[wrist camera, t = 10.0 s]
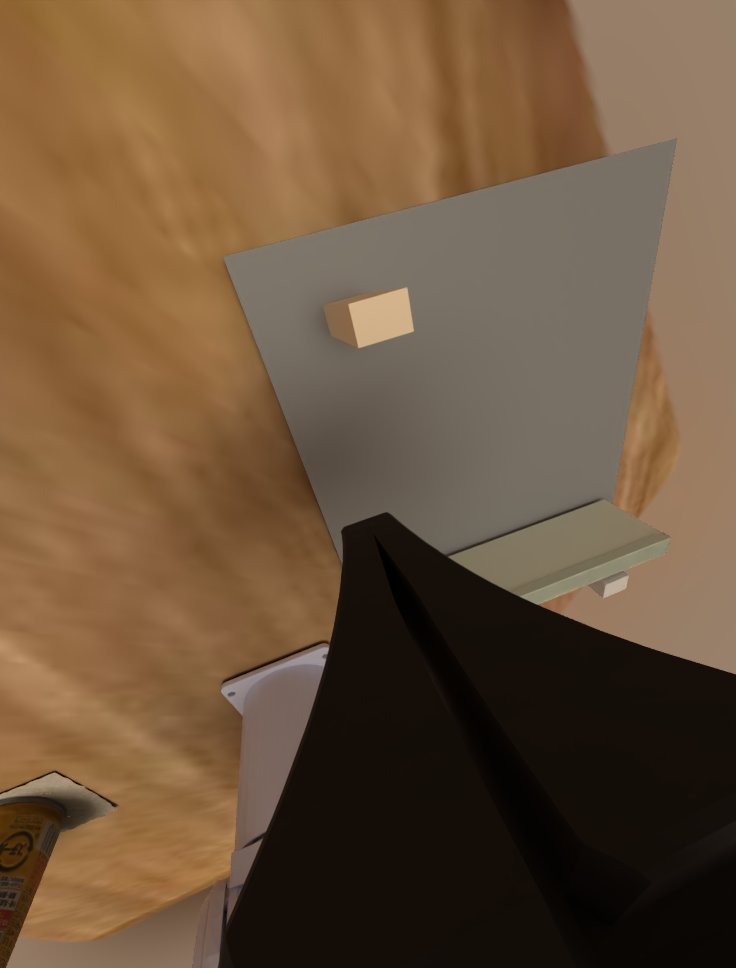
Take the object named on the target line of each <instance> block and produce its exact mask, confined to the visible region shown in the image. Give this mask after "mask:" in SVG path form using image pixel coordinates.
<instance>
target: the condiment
mask: <svg viewBox="0 0 736 968" xmlns="http://www.w3.org/2000/svg"><path fill="white" fill-rule="evenodd" d="M39 793H43V794H42V795H39ZM45 793H51V794H45ZM116 810H117V809H116V808H115V807H113V806H111V804H110V803H108V802H107V801H106V800H104V799H102V798H100V797H99V796H98V795H97V794H95V793H93V792H91V791H89V790H87V789H86V788H85V786H80V785H78V784H75V783H73V782H72V781H71V780H70V779H68V778H64V777H62V776H60V775H58V774H57V773H55V772H54V773H52V774H49V775H47V776H45V777H43V778H41V779H37V780H34V781H32V782H29V783H28V784H26V785H24V786H20V787H17V788H15V789H12V790H11V791H9V792H5V793H2V794H0V968H6V966H7V963H8V961H9V958H10V956H11V954H12V951H13V949H14V947H15V943H16V941H17V938H18V936H19V933H20V931H21V928H22V926H23V923H24V921H25V919H26V916H27V913H28V911H29V909H30V906H31V904H32V901H33V899H34V896H35V893H36V891H37V888H38V886H39V884H40V881H41V879H42V876H43V873H44V871H45V869H46V866H47V863H48V861H49V858H50V856H51V853H52V851H53V848H54V846H55V843H56V841H57V839H58V836H59V833H60V832H64V831H66V830H70V829H74V828H76V827H77V826H79V825H81V824H84V823H86V822H88V821H90V820H92V819H95V818H98V817H102V816H106V815H107V814H109V813H112V812H114V811H116ZM68 816H70V817H68Z"/></svg>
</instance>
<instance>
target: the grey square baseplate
mask: <svg viewBox="0 0 736 968" xmlns="http://www.w3.org/2000/svg"><path fill="white" fill-rule="evenodd" d="M676 141H677V139H673V140H670V141H665V142H662V143H658V144H654V145H650V146H646V147H642V148H638V149H635V150H631V151H627V152H623V153H620V154H615V155H612V156H608V157H604V158H600V159H596V160H592V161H589V162H585V163H581V164H577V165H573V166H569V167H566V168H562V169H558V170H554V171H550V172H546V173H542V174H539V175H535V176H531V177H527V178H523V179H519V180H516V181H512V182H508V183H504V184H500V185H496V186H493V187H489V188H485V189H481V190H477V191H473V192H470V193H466V194H462V195H458V196H454V197H450V198H447V199H443V200H439V201H435V202H431V203H427V204H424V205H420V206H416V207H412V208H408V209H404V210H400V211H397V212H393V213H389V214H385V215H381V216H377V217H374V218H370V219H366V220H362V221H358V222H354V223H351V224H347V225H343V226H339V227H335V228H331V229H328V230H324V231H320V232H316V233H312V234H308V235H305V236H301V237H297V238H293V239H289V240H285V241H282V242H278V243H274V244H270V245H266V246H262V247H259V248H255V249H251V250H247V251H243V252H239V253H235V254H232V255H228V256H224V257H223V258H224V261H225V264H226V266H227V269H228V271H229V274H230V276H231V279H232V282H233V284H234V287H235V289H236V292H237V295H238V297H239V300H240V302H241V305H242V307H243V310H244V313H245V315H246V318H247V320H248V323H249V326H250V328H251V331H252V333H253V336H254V338H255V341H256V344H257V346H258V349H259V351H260V354H261V357H262V359H263V362H264V364H265V367H266V370H267V372H268V375H269V377H270V380H271V382H272V385H273V388H274V390H275V393H276V395H277V398H278V401H279V403H280V406H281V408H282V411H283V413H284V416H285V419H286V421H287V424H288V426H289V429H290V432H291V434H292V437H293V439H294V442H295V444H296V447H297V450H298V452H299V455H300V457H301V460H302V463H303V465H304V468H305V470H306V473H307V475H308V478H309V481H310V483H311V486H312V488H313V491H314V494H315V496H316V499H317V501H318V504H319V506H320V509H321V512H322V514H323V517H324V519H325V522H326V525H327V527H328V530H329V532H330V535H331V537H332V540H333V543H334V545H335V548H336V550H337V553H338V556H339V558H340V561H341V563H342V562H343V542H342V534H341V530H342V529H343V527H345V526H347V525H350V524H353V523H356V522H359V521H362V520H365V519H367V518H370V517H373V516H376V515H379V514H382V513H385V512H388V513H390V514H391V515H393V516H394V517H395V518H396V519H397V520H398V521H399V522H401V523H402V524H403V525H404V526H406V527H407V528H408V529H409V530H411V531H412V532H413V533H415V534H416V535H417V536H418V537H420V538H421V539H423V540H424V541H425V542H427V543H428V544H430V545H431V546H433V547H434V548H436V549H437V550H438V551H440V552H441V553H443V554H444V555H446V556H447V557H449V556H451V555H454V554H457V553H460V552H462V551H465V550H468V549H471V548H473V547H476V546H479V545H481V544H484V543H487V542H490V541H492V540H495V539H498V538H501V537H503V536H506V535H509V534H511V533H514V532H517V531H520V530H522V529H525V528H528V527H531V526H533V525H536V524H539V523H541V522H544V521H547V520H550V519H552V518H555V517H558V516H561V515H563V514H566V513H569V512H571V511H574V510H577V509H580V508H582V507H585V506H588V505H591V504H593V503H596V502H599V501H601V500H606V501H608V502H609V503H611V504H613V499H614V494H615V488H616V482H617V477H618V471H619V465H620V460H621V454H622V448H623V443H624V437H625V431H626V426H627V420H628V414H629V408H630V403H631V397H632V391H633V386H634V380H635V374H636V369H637V363H638V357H639V352H640V346H641V340H642V335H643V329H644V323H645V318H646V312H647V306H648V300H649V295H650V289H651V283H652V278H653V272H654V266H655V261H656V255H657V249H658V244H659V238H660V232H661V226H662V221H663V215H664V209H665V204H666V198H667V192H668V187H669V181H670V175H671V170H672V164H673V158H674V153H675V147H676ZM628 576H629V575H628V574H627V573H625V572H624V571H621V572H618V573H616V574H613V575H611V576H608V577H606V578H603V579H601V580H598V581H596V582H593V583H591V584H588V586H590V587H591V588H592V589H593V590H594V591H595V592H596V593H598V594H599V595H600V596H601V597H602V598H605V597H607V596H610V595H612V594H614V593H616V592H619V591H621V590H624V589H626V585H627V580H628Z"/></svg>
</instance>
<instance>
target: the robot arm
mask: <svg viewBox="0 0 736 968" xmlns="http://www.w3.org/2000/svg"><path fill="white" fill-rule="evenodd" d="M341 534H342V542H343V562H342V574H341V585H340V593H339V599H338V605H337V611H336V617H335V623H334V628H333V633H332V637H331V642H330V646H329V644H326V643H322V644H319V645H317V646H314V647H312V648H309V649H307V650H304V651H302V652H299V653H297V654H294V655H292V656H289V657H287V658H284V659H282V660H279V661H277V662H274V663H272V664H269V665H267V666H264V667H262V668H259V669H257V670H254V671H252V672H249V673H247V674H244V675H242V676H239V677H237V678H234V679H232V680H229V681H227V682H225V683H223V684H222V686H221V693H222V694H223V695H224V696H225V697H226V699H227V700H228V701H229V702H230V703H231V704H232V705H233V706H234V707H235V709H236V710H237V711H238V712H239V713H240V714H241V715H242V716H243V722H242V738H241V754H240V770H239V786H238V802H237V818H236V834H235V850H234V851H233V853H232V856H231V871H230V885H229V888H227V879H222V880H218V881H216V882H215V884H214V886H213V889H212V892H210V893H209V895H208V896H207V898H206V899H205V901H204V902H203V905H202V907H201V912H200V916H199V922H198V928H197V935H196V942H195V949H194V957H193V964H192V968H736V674H732V673H729V672H726V671H723V670H719V669H716V668H713V667H709V666H706V665H703V664H700V663H696V662H693V661H690V660H686V659H683V658H680V657H677V656H673V655H669V654H667V653H663V652H660V651H657V650H654V649H651V648H648V647H645V646H642V645H639V644H637V643H634V642H630V641H628V640H625V639H622V638H620V637H617V636H614V635H611V634H608V633H605V632H603V631H600V630H597V629H595V628H592V627H590V626H587V625H585V624H582V623H580V622H578V621H575V620H573V619H570V618H568V617H565V616H563V615H560V614H558V613H556V612H553V611H551V610H548V609H546V608H543V607H541V606H539V605H537V604H535V603H533V602H530V601H528V600H526V599H524V598H522V597H520V596H517V595H515V594H513V593H511V592H509V591H507V590H505V589H503V588H501V587H499V586H497V585H496V584H494V583H492V582H490V581H488V580H486V579H484V578H483V577H481V576H479V575H477V574H475V573H474V572H472V571H470V570H469V569H467V568H465V567H464V566H462V565H460V564H459V563H457V562H455V561H454V560H452V559H451V558H449V557H447V556H446V555H444V554H443V553H441V552H440V551H438V550H437V549H436V548H434V547H433V546H431V545H430V544H428V543H427V542H425V541H424V540H423V539H421V538H420V537H418V536H417V535H416V534H415V533H413V532H412V531H411V530H409V529H408V528H407V527H406V526H404V525H403V524H402V523H401V522H399V521H398V520H397V519H396V518H395V517H394V516H393V515H391V514H390V513H388V512H385V513H382V514H379V515H376V516H373V517H370V518H367V519H365V520H362V521H359V522H356V523H353V524H350V525H347V526H345V527H343V529H342V530H341Z"/></svg>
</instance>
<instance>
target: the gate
mask: <svg viewBox="0 0 736 968" xmlns="http://www.w3.org/2000/svg"><path fill="white" fill-rule="evenodd" d="M671 538H672V537H671V536H669V535H667V534H665V533H662V532H660V531H659V530H657V529H655V528H653V527H652V526H650V525H648V524H646V523H645V522H643V521H641V520H639V519H638V518H636V517H634V516H632V515H631V514H629V513H627V512H625V511H624V510H622V509H620V508H618V507H616V506H615V505H613V504H611V503H609V502H608V501H606V500H601V501H599V502H596V503H593V504H591V505H588V506H585V507H582V508H580V509H577V510H574V511H571V512H569V513H566V514H563V515H561V516H558V517H555V518H552V519H550V520H547V521H544V522H541V523H539V524H536V525H533V526H531V527H528V528H525V529H522V530H520V531H517V532H514V533H511V534H509V535H506V536H503V537H501V538H498V539H495V540H492V541H490V542H487V543H484V544H481V545H479V546H476V547H473V548H471V549H468V550H465V551H462V552H460V553H457V554H454V555H451V556H449V558H451V559H452V560H454V561H455V562H457V563H459V564H460V565H462V566H464V567H465V568H467V569H469V570H470V571H472V572H474V573H475V574H477V575H479V576H481V577H483V578H484V579H486V580H488V581H490V582H492V583H494V584H496V585H497V586H499V587H501V588H503V589H505V590H507V591H509V592H511V593H513V594H515V595H517V596H520V597H522V598H524V599H526V600H528V601H530V602H533V603H535V604H537V605H538V604H541V603H543V602H546V601H548V600H551V599H553V598H556V597H558V596H561V595H563V594H566V593H568V592H571V591H573V590H576V589H578V588H581V587H583V586H586V585H588V584H591V583H593V582H596V581H598V580H601V579H603V578H606V577H608V576H611V575H613V574H616V573H618V572H621V571H623V570H626V569H628V568H630V567H633V566H635V565H638V564H641V563H643V562H646V561H648V560H650V559H653V558H656V557H658V556H661V555H663V554H665V553H667V549H668V547H669V543H670V541H671Z"/></svg>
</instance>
